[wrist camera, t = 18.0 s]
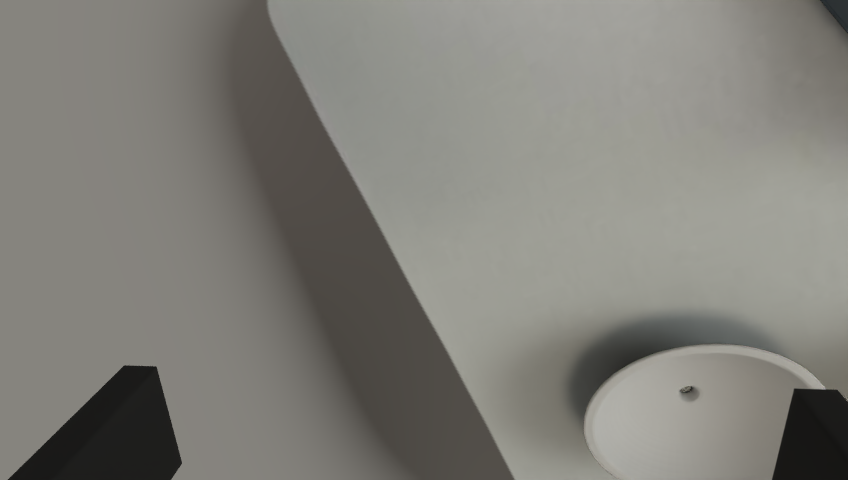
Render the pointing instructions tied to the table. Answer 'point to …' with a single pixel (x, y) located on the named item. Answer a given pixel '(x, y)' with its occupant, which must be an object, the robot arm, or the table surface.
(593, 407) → the dish
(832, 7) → the grid
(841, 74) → the table surface
